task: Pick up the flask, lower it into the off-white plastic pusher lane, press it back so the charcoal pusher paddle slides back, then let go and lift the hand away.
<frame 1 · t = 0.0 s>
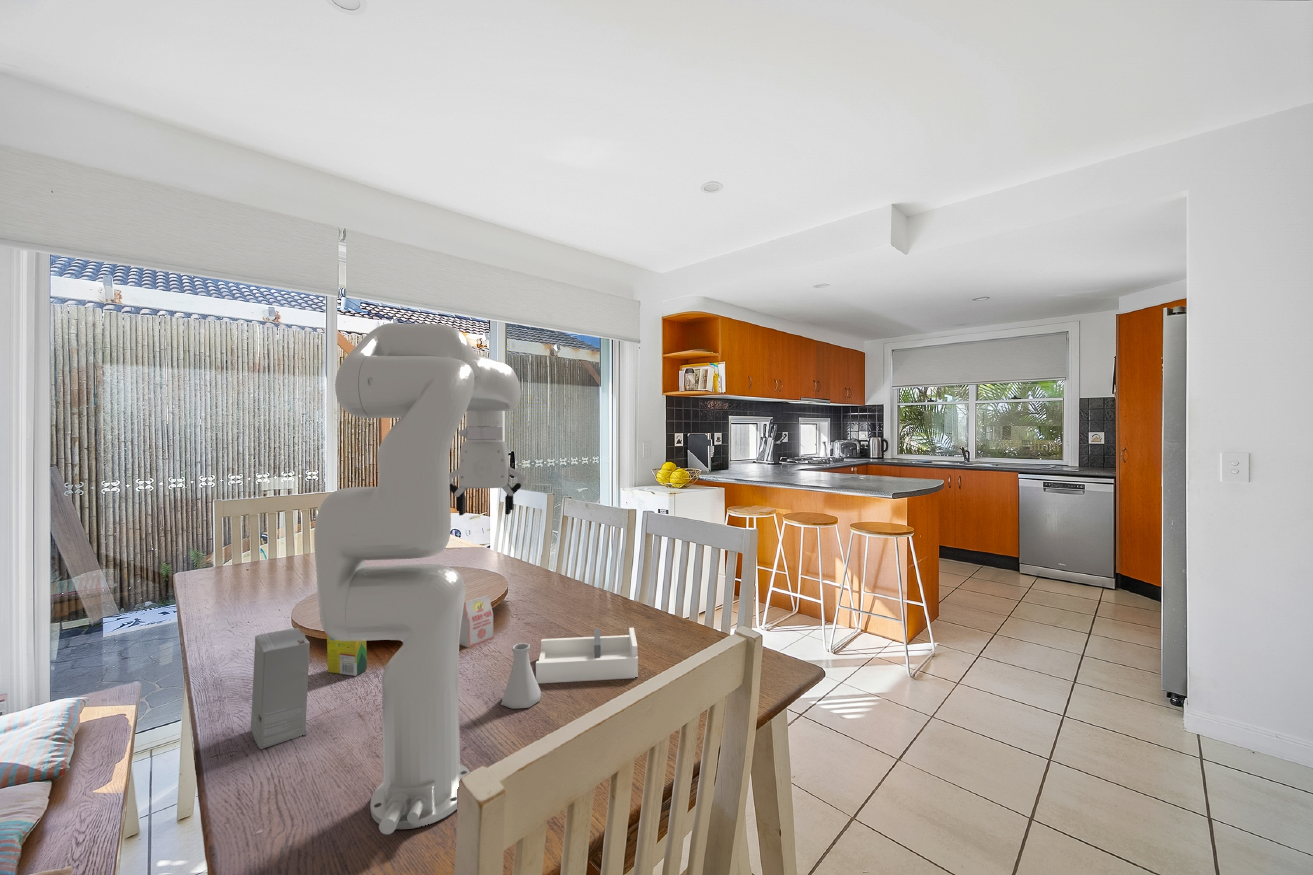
hand: (485, 513, 118), 31 cm above the table, tool pointing down, fingers open, 9 cm apart
pusher: (597, 648, 113), point 4 cm above the table, slide at 0.0 cm
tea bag: (476, 641, 127), on the table
flask: (521, 701, 100), on the table
crayon box: (347, 672, 111), on the table
skincare box: (281, 733, 89), on the table
lane: (587, 667, 113), on the table
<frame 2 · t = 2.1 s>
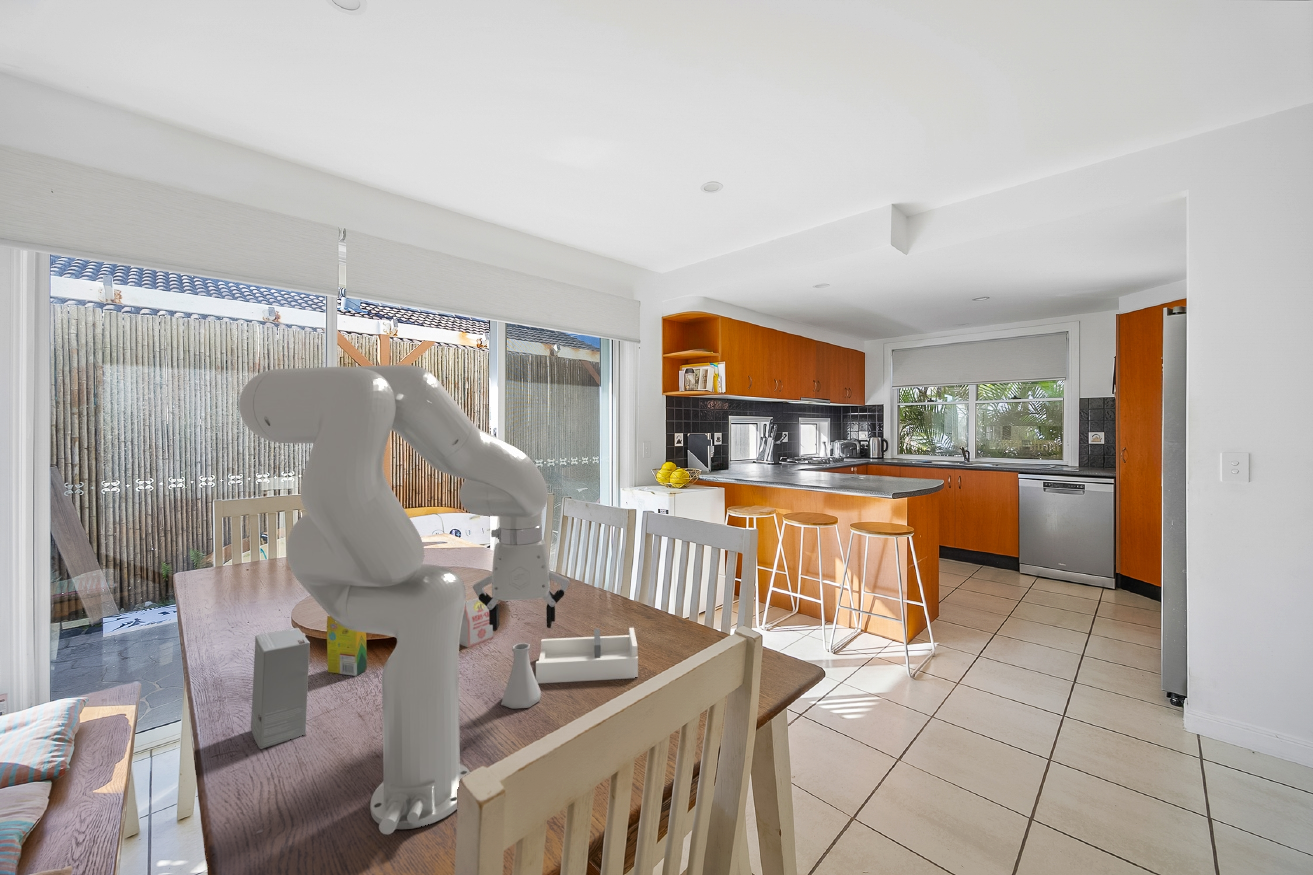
hand: (522, 626, 100), 13 cm above the table, tool pointing down, fingers open, 9 cm apart
nothing on the table moved.
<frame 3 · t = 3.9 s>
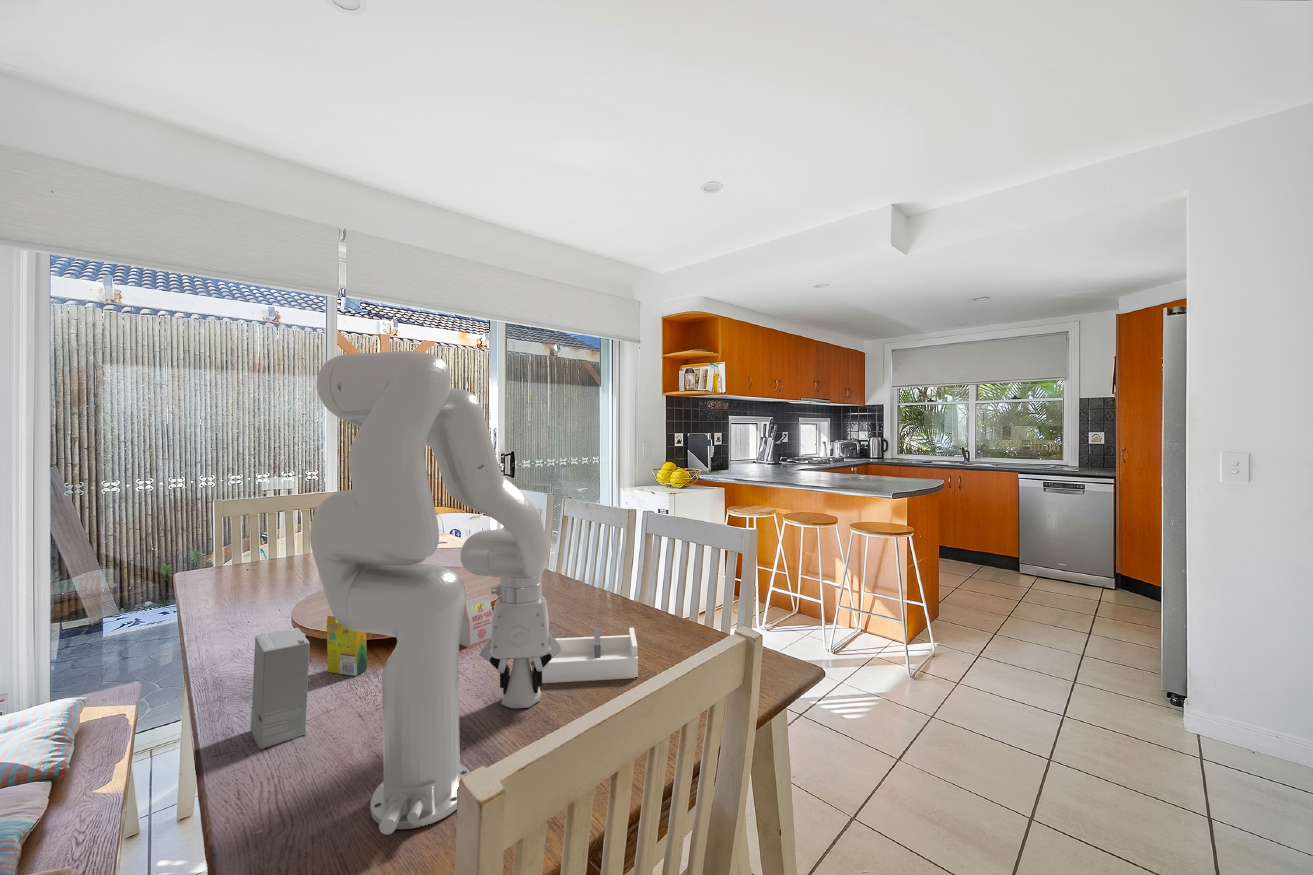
hand: (521, 689, 100), 2 cm above the table, tool pointing down, fingers closed on flask, 4 cm apart
flask: (521, 700, 100), on the table, touching gripper
everything else where it was.
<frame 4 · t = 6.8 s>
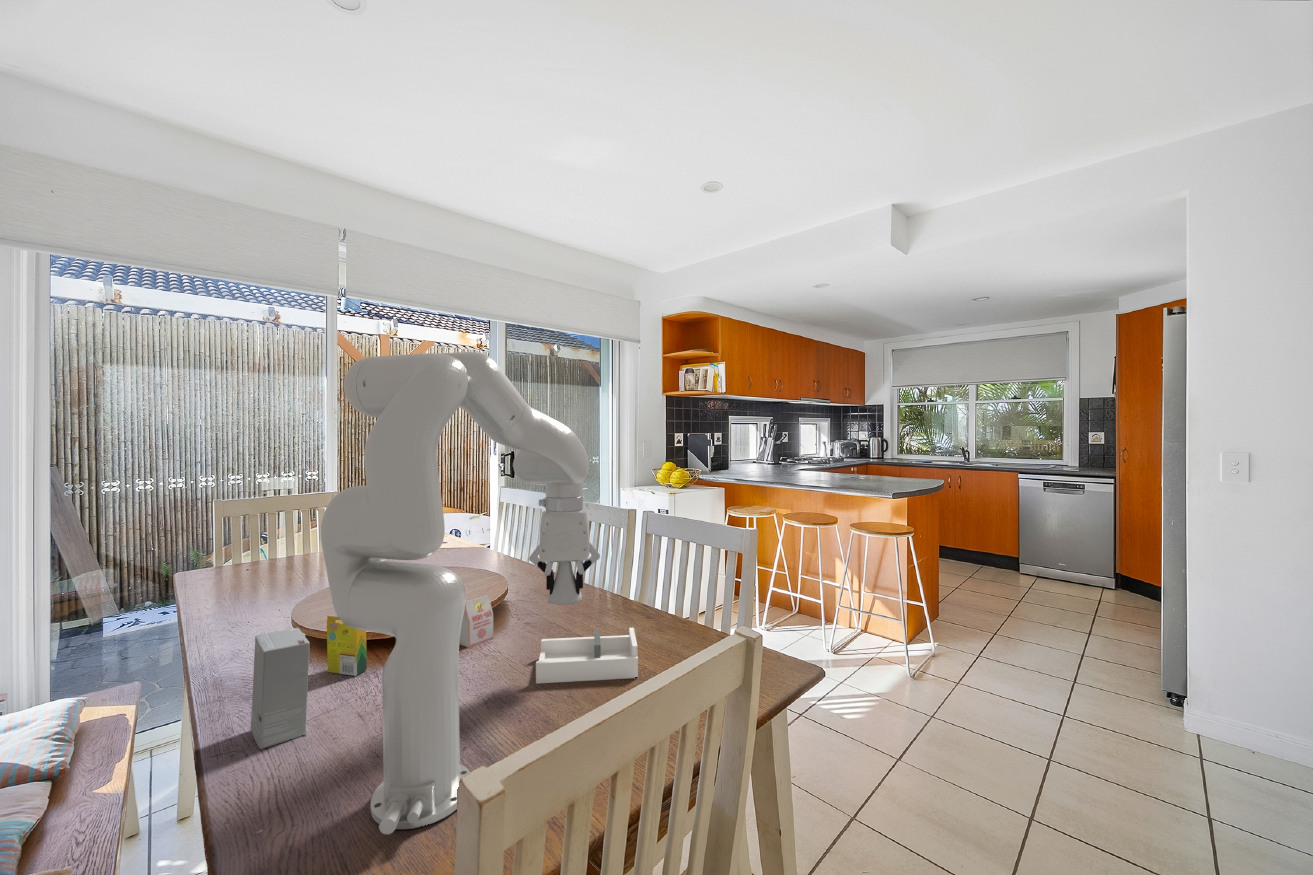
hand: (565, 591, 112), 16 cm above the table, tool pointing down, fingers closed on flask, 4 cm apart
flask: (565, 601, 112), point 14 cm above the table, touching gripper
everything else where it was.
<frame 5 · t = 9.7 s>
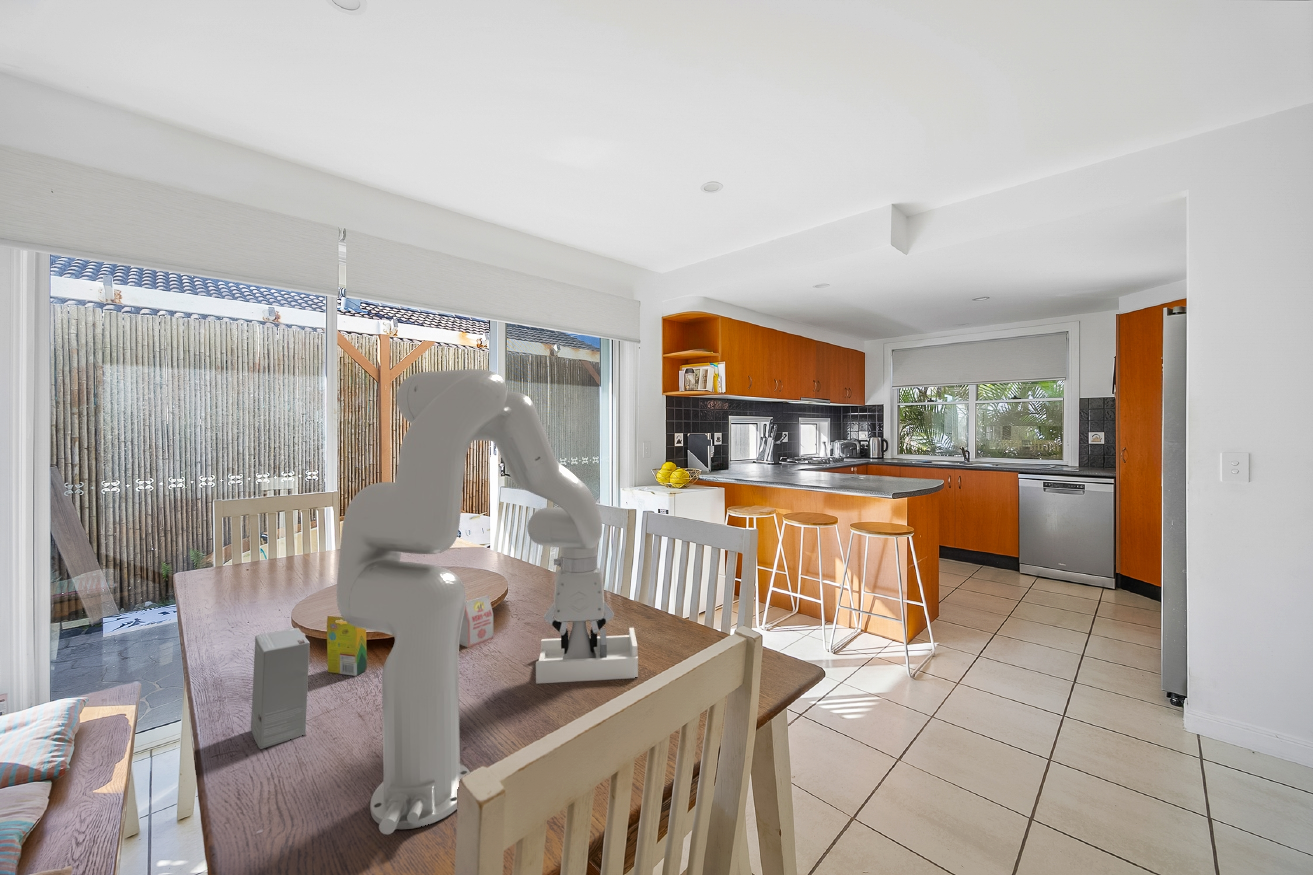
hand: (579, 649, 113), 4 cm above the table, tool pointing down, fingers closed on flask, 4 cm apart
pusher: (603, 648, 113), point 4 cm above the table, slide at 1.3 cm, touching gripper
flask: (579, 659, 113), point 2 cm above the table, touching gripper
everything else where it was.
when the fingers open (4 cm above the table, at t = 10.2 s): flask stays where it is, resting on lane.
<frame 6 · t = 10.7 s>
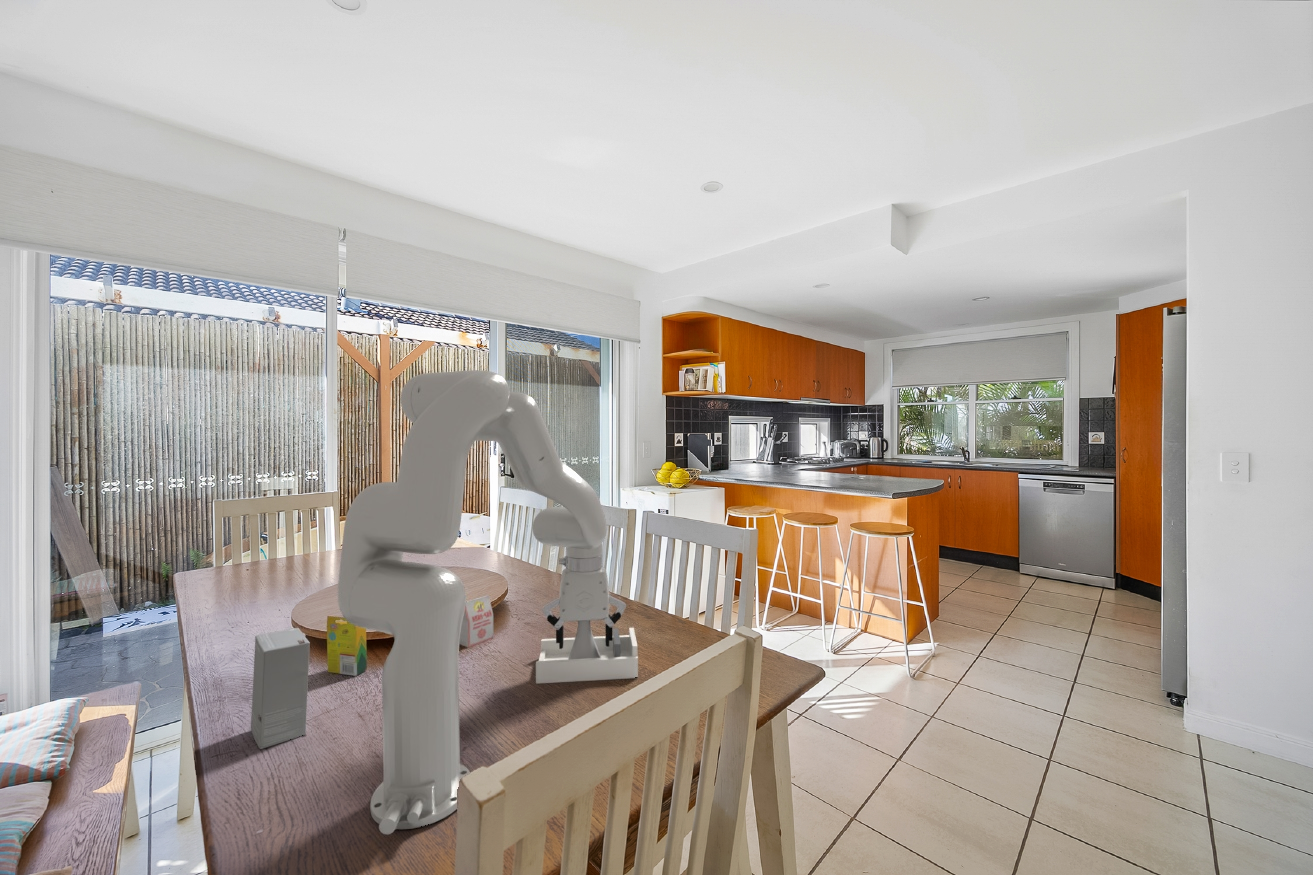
hand: (584, 644, 113), 5 cm above the table, tool pointing down, fingers open, 9 cm apart
pusher: (616, 647, 114), point 4 cm above the table, slide at 4.0 cm
flask: (584, 663, 113), point 1 cm above the table, touching lane
everything else where it was.
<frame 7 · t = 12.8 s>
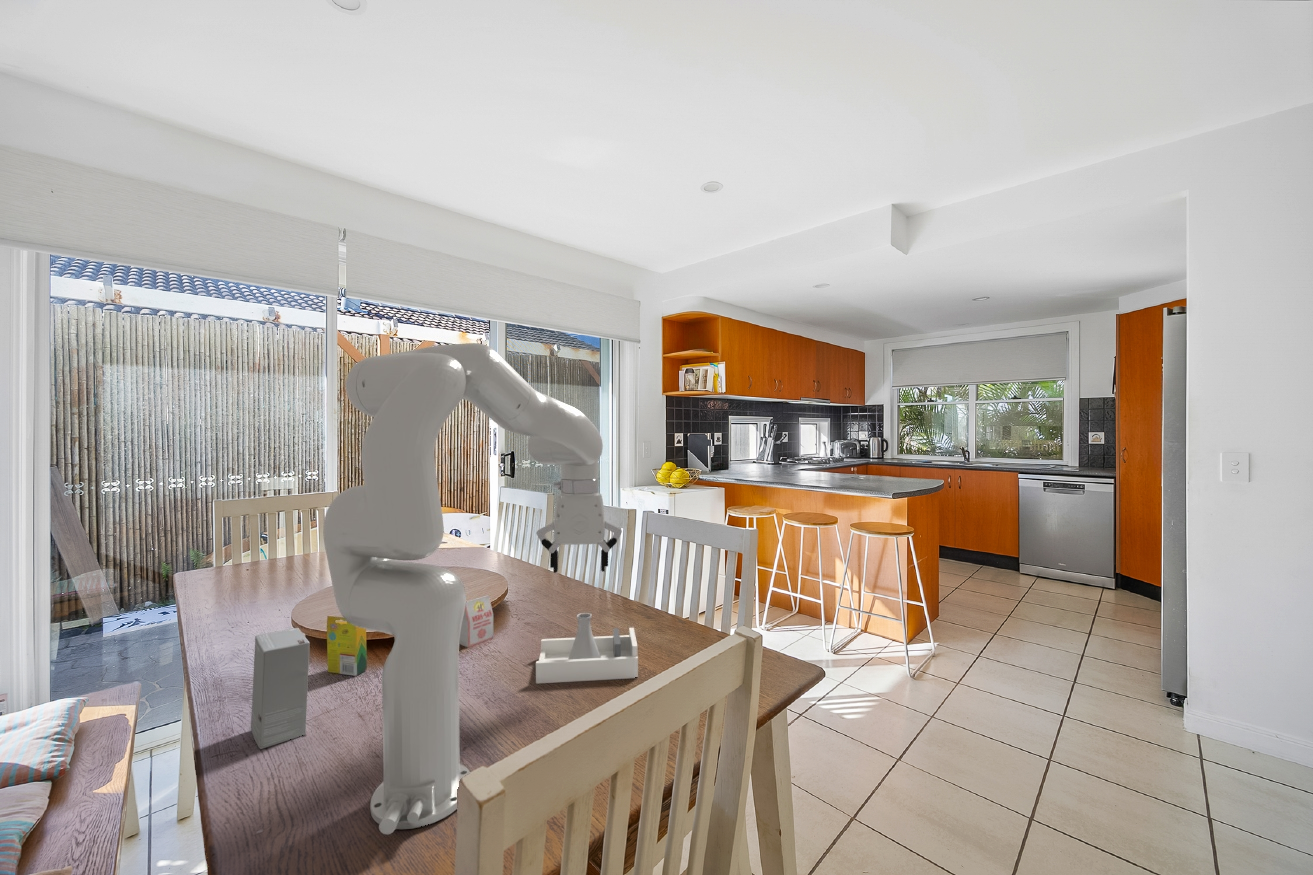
hand: (579, 570, 112), 21 cm above the table, tool pointing down, fingers open, 9 cm apart
nothing on the table moved.
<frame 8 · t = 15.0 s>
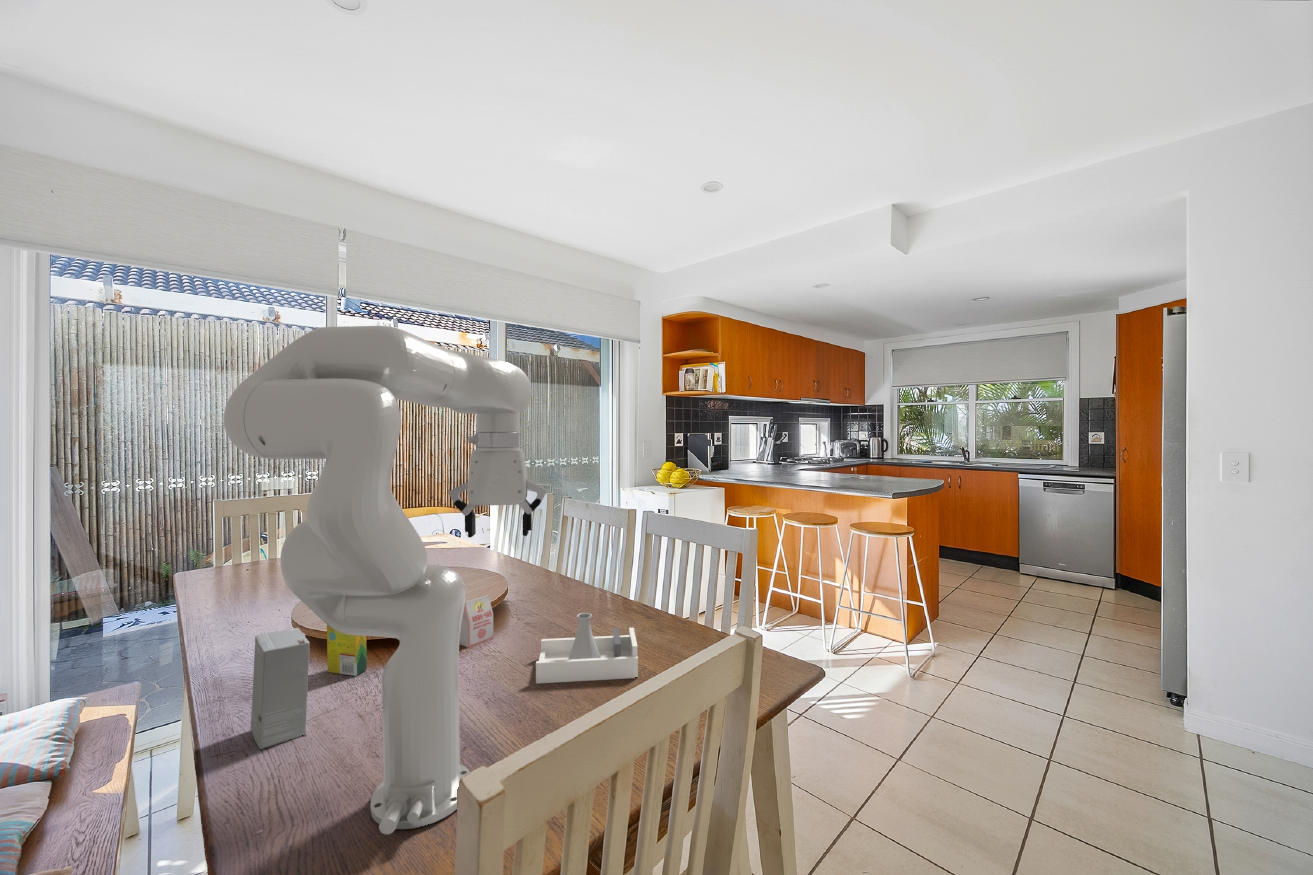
hand: (498, 535, 100), 30 cm above the table, tool pointing down, fingers open, 9 cm apart
nothing on the table moved.
at the end: flask inside the target area on the lane (1.2 cm from its centre), point 0.8 cm above the lane's base; flask tilted 0°; pusher slide at 4.1 cm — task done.
